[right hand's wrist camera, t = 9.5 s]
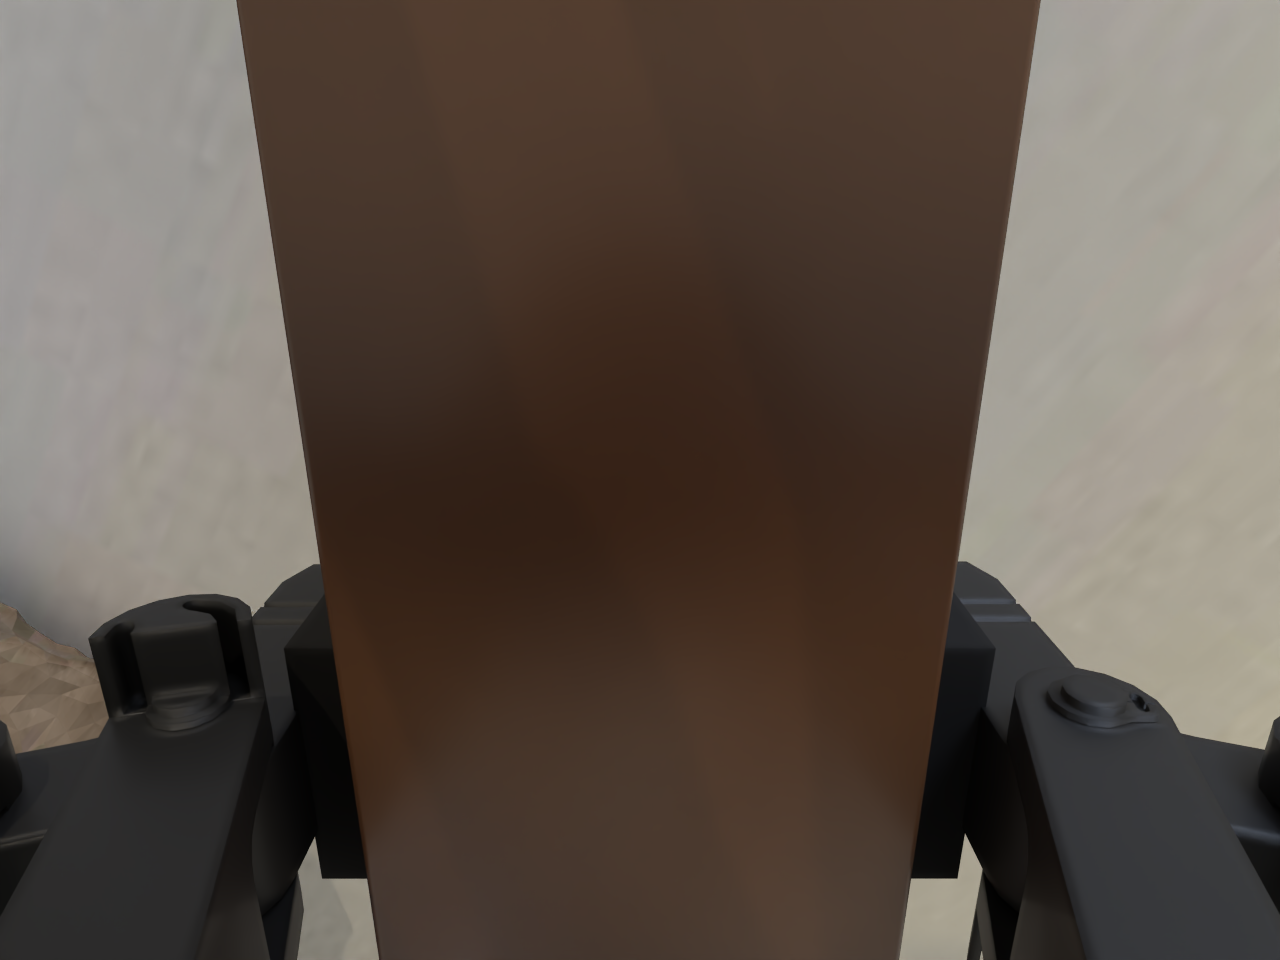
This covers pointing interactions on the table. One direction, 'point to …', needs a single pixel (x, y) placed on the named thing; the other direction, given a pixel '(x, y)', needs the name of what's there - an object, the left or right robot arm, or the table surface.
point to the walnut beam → (638, 445)
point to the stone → (46, 688)
